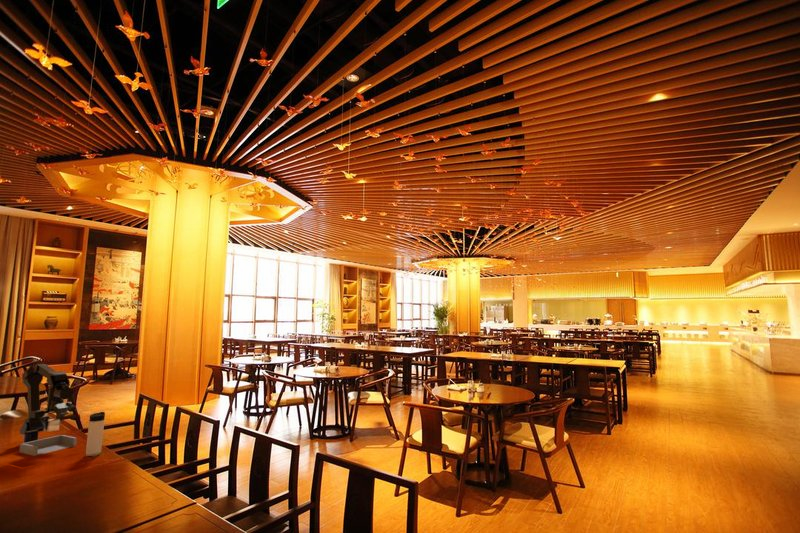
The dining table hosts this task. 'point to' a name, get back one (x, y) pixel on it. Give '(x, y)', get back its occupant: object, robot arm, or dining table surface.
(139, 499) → the dining table surface
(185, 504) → the dining table surface
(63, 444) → the slate box
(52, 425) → the birch block
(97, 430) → the travel mug
